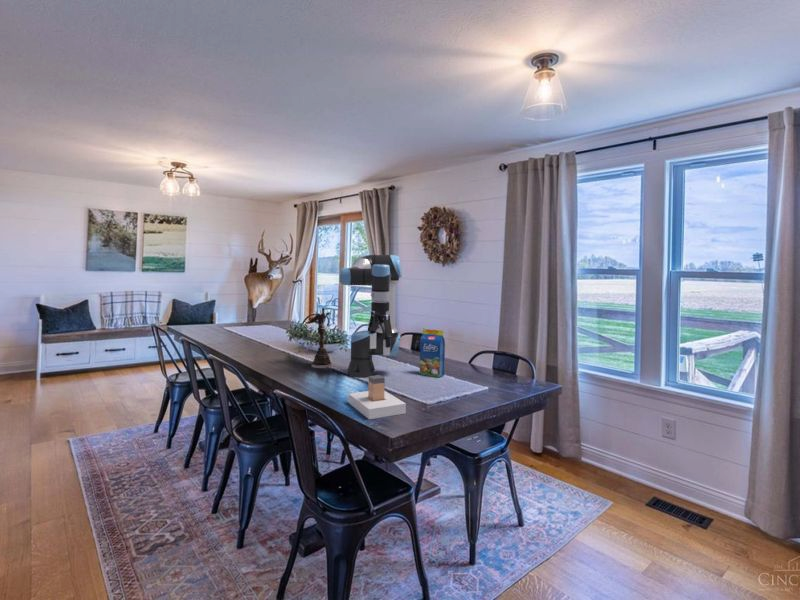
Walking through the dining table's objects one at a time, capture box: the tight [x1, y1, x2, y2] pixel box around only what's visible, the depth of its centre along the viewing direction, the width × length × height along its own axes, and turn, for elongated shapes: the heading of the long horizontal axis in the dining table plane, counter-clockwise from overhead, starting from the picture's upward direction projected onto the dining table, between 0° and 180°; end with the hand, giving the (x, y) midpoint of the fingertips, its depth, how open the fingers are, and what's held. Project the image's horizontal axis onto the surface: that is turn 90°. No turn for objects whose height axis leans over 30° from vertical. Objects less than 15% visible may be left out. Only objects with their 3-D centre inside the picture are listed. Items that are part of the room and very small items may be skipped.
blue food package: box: [419, 328, 446, 378], centre depth 228 cm, size 6×12×25 cm, turn 61°
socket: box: [347, 390, 407, 420], centre depth 174 cm, size 22×16×4 cm
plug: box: [367, 374, 386, 402], centre depth 174 cm, size 5×5×13 cm
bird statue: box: [304, 307, 332, 369], centre depth 245 cm, size 17×13×35 cm
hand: (379, 351), depth 177 cm, fingers open, 13 cm apart
